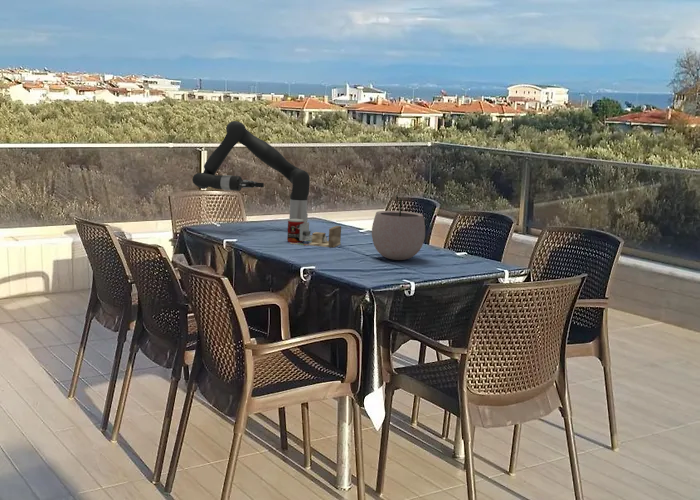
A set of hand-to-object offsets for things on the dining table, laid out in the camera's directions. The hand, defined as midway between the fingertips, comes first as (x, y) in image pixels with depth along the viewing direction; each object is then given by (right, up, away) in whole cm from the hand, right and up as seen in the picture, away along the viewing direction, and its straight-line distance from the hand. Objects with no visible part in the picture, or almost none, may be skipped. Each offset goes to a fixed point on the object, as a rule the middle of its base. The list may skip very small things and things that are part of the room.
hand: (263, 185), depth 409 cm
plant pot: (+65, -37, -41) cm, 85 cm away
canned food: (+16, -29, -7) cm, 34 cm away
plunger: (+26, -28, -10) cm, 40 cm away
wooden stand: (+27, -30, -10) cm, 41 cm away
